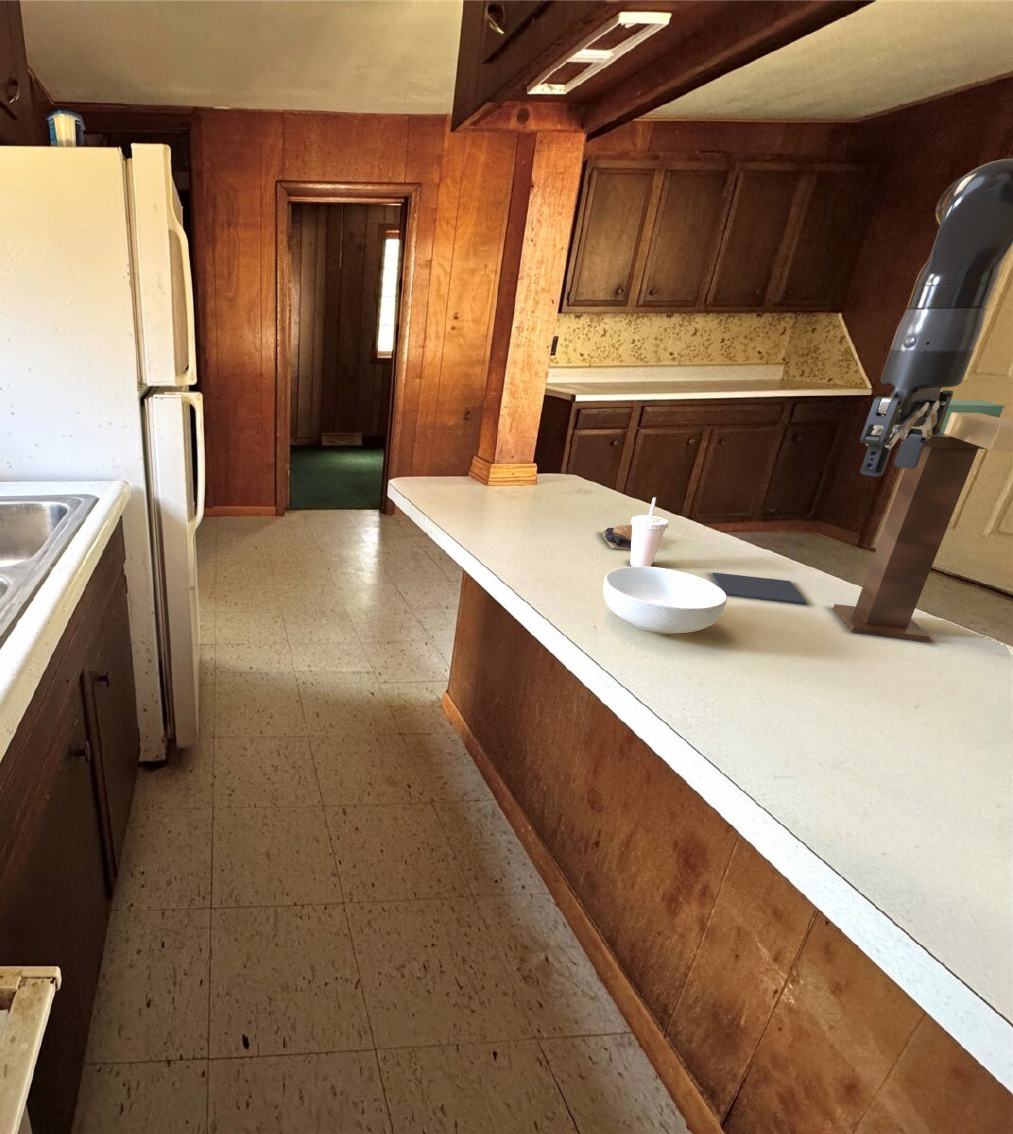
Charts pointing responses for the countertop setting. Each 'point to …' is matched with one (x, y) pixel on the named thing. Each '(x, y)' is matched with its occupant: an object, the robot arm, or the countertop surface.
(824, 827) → the countertop surface
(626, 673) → the countertop surface
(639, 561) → the smoothie
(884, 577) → the walnut stand
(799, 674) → the countertop surface
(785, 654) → the countertop surface
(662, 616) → the cereal bowl
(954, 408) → the two-tone toy blocks
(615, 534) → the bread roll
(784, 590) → the slate mat
